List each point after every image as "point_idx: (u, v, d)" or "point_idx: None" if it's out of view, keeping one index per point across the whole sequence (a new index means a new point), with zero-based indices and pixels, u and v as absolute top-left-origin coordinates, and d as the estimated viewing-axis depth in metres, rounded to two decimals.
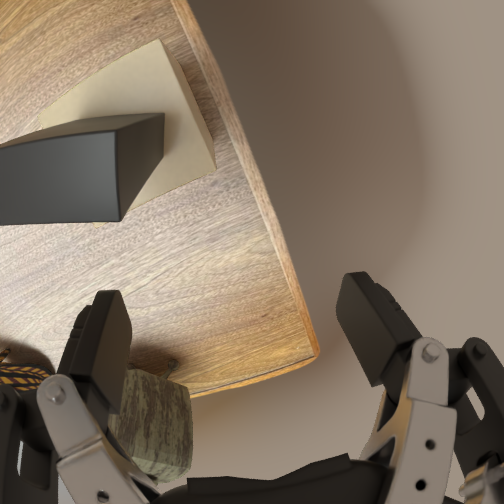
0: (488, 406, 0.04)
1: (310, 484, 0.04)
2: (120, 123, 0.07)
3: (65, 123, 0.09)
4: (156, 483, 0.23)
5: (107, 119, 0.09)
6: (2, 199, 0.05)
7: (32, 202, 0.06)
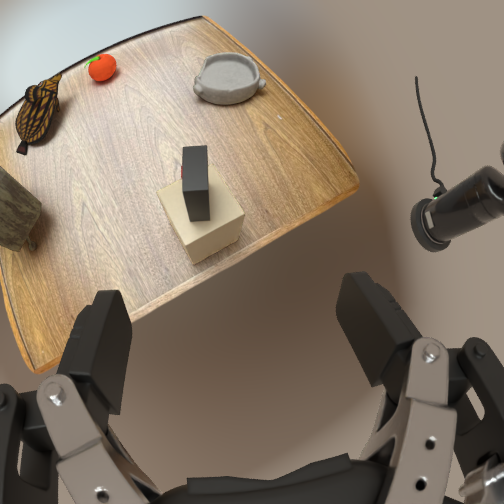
0: (488, 406, 0.04)
1: (310, 484, 0.04)
2: None
3: None
4: None
5: None
6: (191, 154, 0.25)
7: (189, 165, 0.25)
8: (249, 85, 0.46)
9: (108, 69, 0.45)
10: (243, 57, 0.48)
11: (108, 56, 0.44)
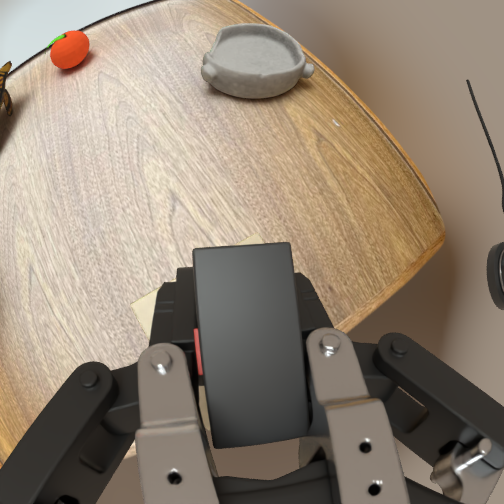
0: (430, 405, 0.05)
1: (310, 484, 0.04)
2: None
3: None
4: None
5: None
6: (231, 284, 0.06)
7: (229, 341, 0.06)
8: (292, 70, 0.28)
9: (76, 50, 0.26)
10: (276, 31, 0.30)
11: (77, 33, 0.25)
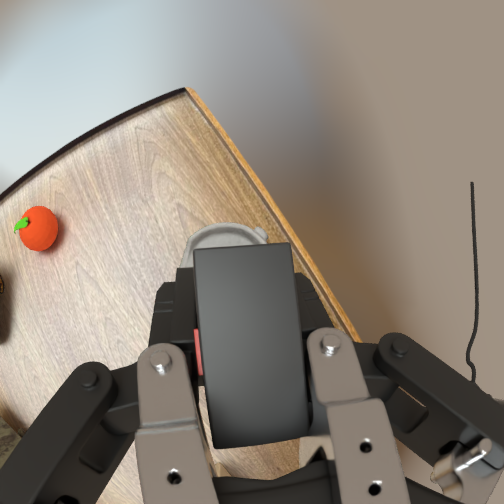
0: (431, 404, 0.05)
1: (310, 484, 0.04)
2: None
3: None
4: None
5: None
6: (231, 285, 0.06)
7: (229, 341, 0.06)
8: None
9: (45, 241, 0.32)
10: (252, 235, 0.35)
11: (39, 218, 0.31)
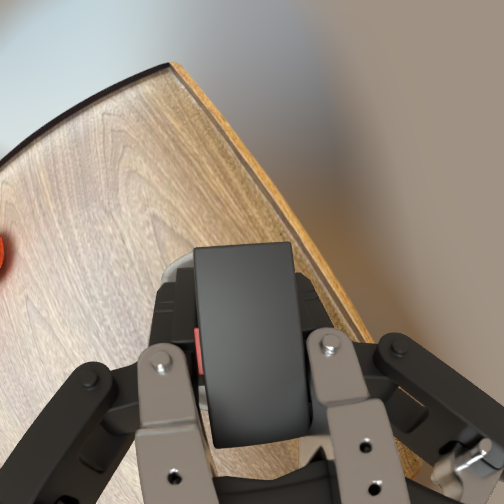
0: (430, 404, 0.05)
1: (310, 484, 0.04)
2: None
3: None
4: None
5: None
6: (232, 284, 0.06)
7: (230, 340, 0.06)
8: None
9: None
10: None
11: None
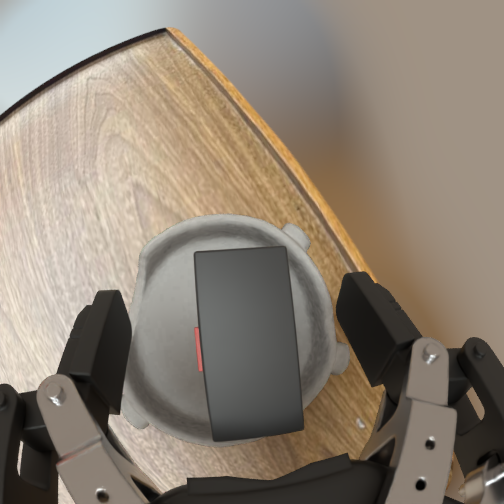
0: (488, 406, 0.04)
1: (310, 484, 0.04)
2: None
3: None
4: None
5: None
6: (230, 286, 0.07)
7: (228, 339, 0.06)
8: (303, 409, 0.14)
9: None
10: (280, 242, 0.16)
11: None
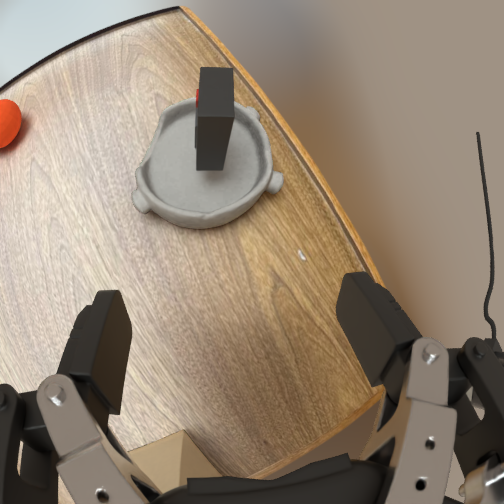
0: (488, 406, 0.04)
1: (310, 484, 0.04)
2: None
3: None
4: None
5: None
6: (211, 75, 0.17)
7: (209, 86, 0.16)
8: (250, 198, 0.24)
9: (3, 132, 0.21)
10: (240, 110, 0.26)
11: (3, 107, 0.19)
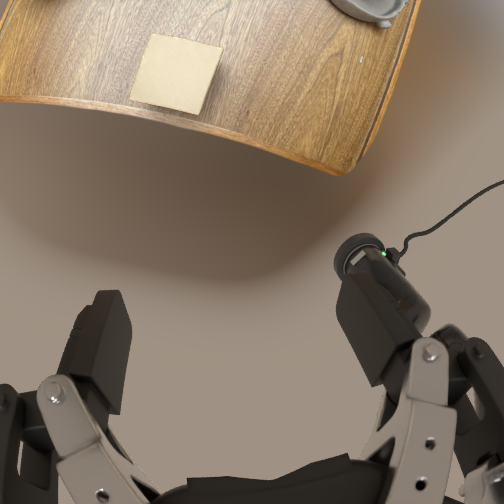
0: (488, 406, 0.04)
1: (310, 484, 0.04)
2: None
3: None
4: None
5: None
6: None
7: None
8: (369, 13, 0.26)
9: None
10: None
11: None
